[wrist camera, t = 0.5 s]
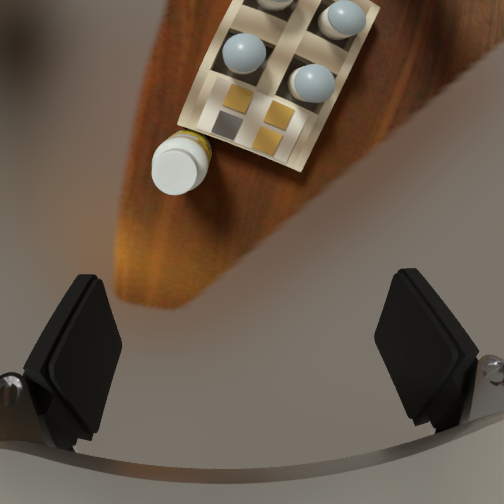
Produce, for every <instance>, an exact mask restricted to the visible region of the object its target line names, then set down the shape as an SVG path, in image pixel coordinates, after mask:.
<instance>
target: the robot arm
mask: <svg viewBox="0 0 504 504" xmlns="http://www.w3.org/2000/svg"><path fill="white" fill-rule="evenodd" d="M374 339H375V343H376V345H377V347H378V350H379V352H380V354H381V356H382V358H383V361H384V363H385V365H386V367H387V369H388V372H389V374H390V376H391V378H392V380H393V383H394V385H395V387H396V390H397V392H398V394H399V397H400V399H401V402H402V404H403V406H404V409H405V411H406V413H407V416H408V417H409V418H410V419H413V422H414V424H415V426H418V425H421V424H424V423H427V422H429V421H430V422H431V424H432V428H431V431H430V434H429V436H427V437H424V438H421V439H418V440H414V441H411V442H408V443H404V444H401V445H398V446H394V447H390V448H386V449H382V450H378V451H374V452H370V453H365V454H361V455H356V456H351V457H346V458H340V459H335V460H329V461H323V462H316V463H309V464H301V465H293V466H281V467H269V468H252V469H194V468H176V467H164V466H154V465H145V464H137V463H130V462H123V461H117V460H111V459H105V458H100V457H94V456H89V455H84V454H80V453H79V451H78V449H77V447H76V442H77V439H78V438H80V439H84V440H89V441H91V440H92V437H93V433H97V431H98V430H99V426H100V422H101V419H102V415H103V411H104V407H105V404H106V400H107V396H108V393H109V389H110V386H111V382H112V379H113V376H114V373H115V369H116V366H117V363H118V360H119V356H120V353H121V350H122V341H121V338H120V335H119V332H118V329H117V326H116V323H115V320H114V317H113V314H112V311H111V308H110V305H109V301H108V298H107V295H106V291H105V288H104V284H103V282H102V280H101V279H98V278H97V276H96V275H94V274H93V275H91V274H80V275H78V276H77V277H76V279H75V280H74V282H73V283H72V285H71V286H70V288H69V290H68V291H67V292H66V294H65V295H64V297H63V299H62V300H61V302H60V304H59V305H58V307H57V308H56V310H55V312H54V313H53V315H52V317H51V318H50V320H49V322H48V323H47V325H46V327H45V328H44V330H43V332H42V334H41V335H40V337H39V339H38V341H37V343H36V344H35V346H34V348H33V350H32V352H31V354H30V356H29V357H28V360H27V361H26V363H25V365H24V367H23V369H24V370H25V372H24V373H23V376H22V375H20V374H18V373H15V372H8V373H4V374H2V375H0V504H504V360H503V359H502V358H500V357H498V356H495V355H485V356H483V357H481V358H480V359H479V361H478V359H477V358H476V356H477V354H478V353H479V350H478V348H477V347H476V345H475V344H474V343H473V341H472V340H471V339H470V337H469V335H468V334H467V333H466V331H465V330H464V328H463V327H462V326H461V324H460V323H459V322H458V320H457V319H456V318H455V316H454V315H453V314H452V312H451V311H450V310H449V308H448V307H447V306H446V304H445V303H444V302H443V300H442V299H441V298H440V297H439V295H438V294H437V293H436V292H435V290H434V289H433V288H432V287H431V285H430V284H429V283H428V282H427V280H426V279H425V278H424V277H423V276H422V274H421V273H420V272H419V271H418V270H417V269H416V268H406V269H400V270H399V271H398V273H396V274H395V275H394V276H393V279H392V282H391V285H390V289H389V292H388V295H387V298H386V302H385V304H384V308H383V311H382V314H381V316H380V319H379V322H378V325H377V328H376V331H375V335H374Z"/></svg>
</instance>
